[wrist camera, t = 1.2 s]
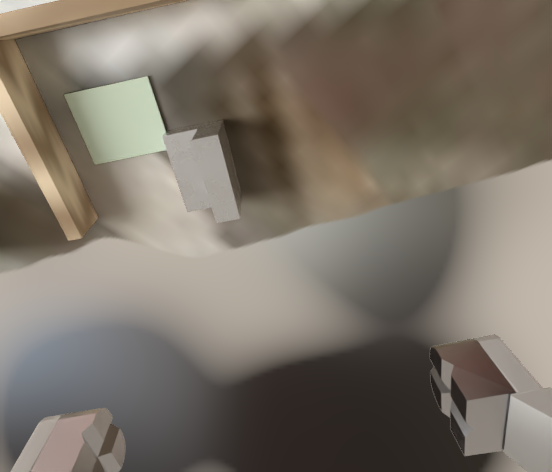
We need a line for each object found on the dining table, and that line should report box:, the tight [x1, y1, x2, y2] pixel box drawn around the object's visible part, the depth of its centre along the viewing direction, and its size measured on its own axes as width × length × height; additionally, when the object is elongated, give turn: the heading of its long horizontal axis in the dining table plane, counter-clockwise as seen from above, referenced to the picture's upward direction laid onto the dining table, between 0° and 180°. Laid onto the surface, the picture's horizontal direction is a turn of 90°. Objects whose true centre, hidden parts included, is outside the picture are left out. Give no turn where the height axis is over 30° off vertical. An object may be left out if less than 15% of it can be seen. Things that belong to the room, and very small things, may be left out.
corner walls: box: [0, 0, 187, 241], centre depth 30 cm, size 17×16×4 cm
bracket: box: [162, 119, 242, 223], centre depth 32 cm, size 7×5×6 cm
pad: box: [64, 76, 166, 165], centre depth 32 cm, size 6×7×1 cm
